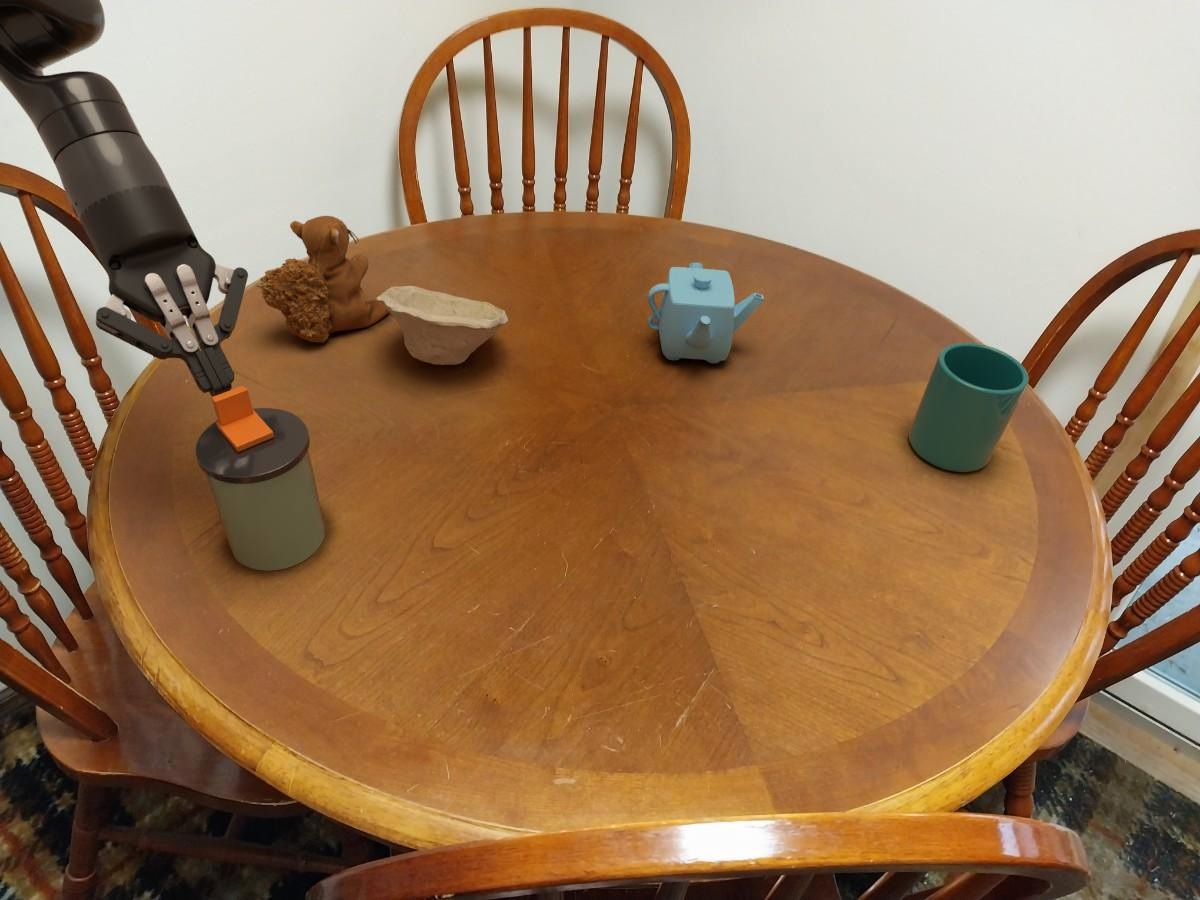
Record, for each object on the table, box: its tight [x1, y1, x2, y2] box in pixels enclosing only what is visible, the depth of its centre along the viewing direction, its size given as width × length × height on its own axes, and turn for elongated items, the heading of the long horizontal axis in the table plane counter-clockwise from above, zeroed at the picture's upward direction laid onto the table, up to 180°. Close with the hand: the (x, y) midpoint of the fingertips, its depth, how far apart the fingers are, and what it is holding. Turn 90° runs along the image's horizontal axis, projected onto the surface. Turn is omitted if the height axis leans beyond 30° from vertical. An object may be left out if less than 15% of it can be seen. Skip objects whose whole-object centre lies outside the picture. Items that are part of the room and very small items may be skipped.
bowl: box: [376, 285, 509, 366], centre depth 99 cm, size 15×14×10 cm
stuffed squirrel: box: [255, 215, 390, 344], centre depth 102 cm, size 10×14×13 cm
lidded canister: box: [194, 407, 326, 572], centre depth 75 cm, size 9×9×12 cm
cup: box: [908, 342, 1029, 473], centre depth 93 cm, size 9×12×11 cm
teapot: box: [647, 261, 765, 364], centre depth 104 cm, size 18×14×10 cm
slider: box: [211, 385, 274, 452], centre depth 71 cm, size 4×3×3 cm
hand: (222, 392), depth 72 cm, fingers closed
